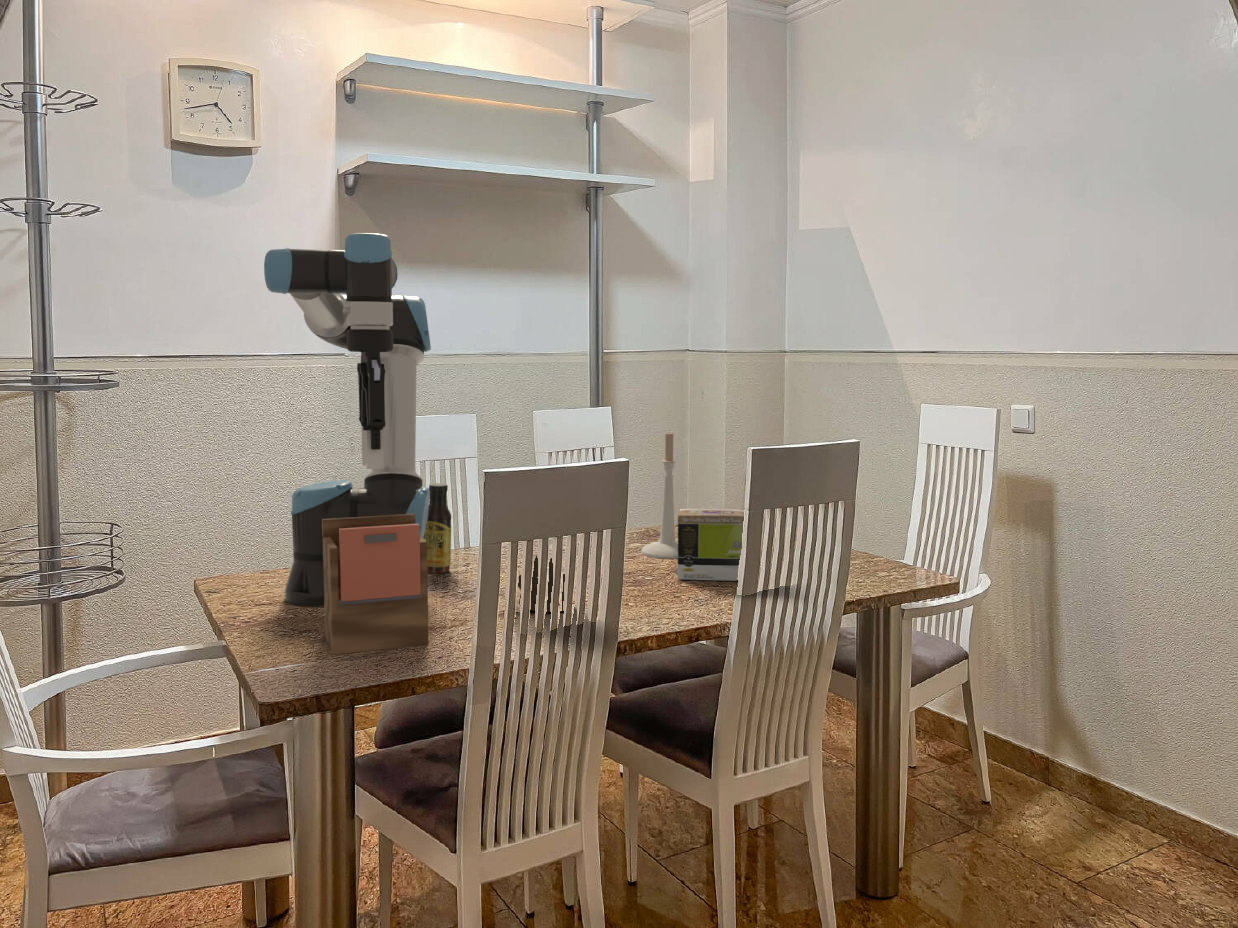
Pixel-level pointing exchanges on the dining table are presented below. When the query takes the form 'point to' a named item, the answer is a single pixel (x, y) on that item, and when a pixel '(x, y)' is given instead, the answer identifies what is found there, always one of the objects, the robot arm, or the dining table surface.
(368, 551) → the panel
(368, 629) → the wooden box
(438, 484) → the sauce bottle
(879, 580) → the dining table surface
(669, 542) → the candlestick
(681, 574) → the tea box
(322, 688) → the dining table surface
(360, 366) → the robot arm
